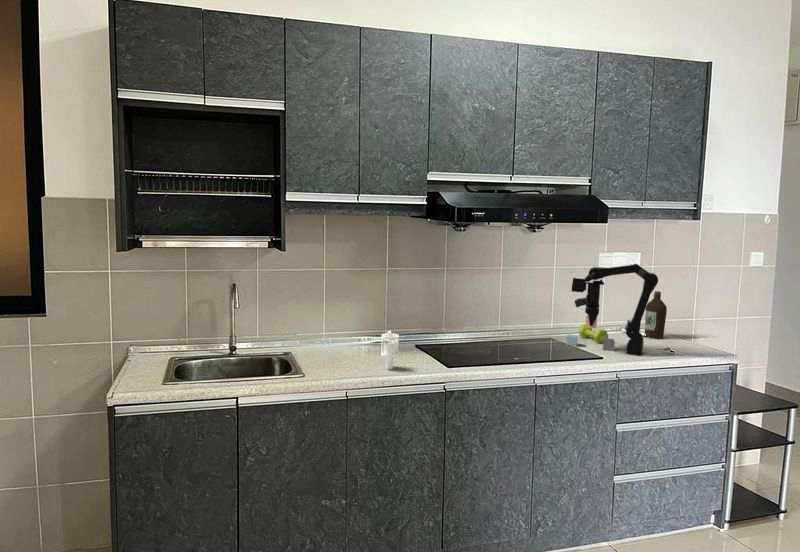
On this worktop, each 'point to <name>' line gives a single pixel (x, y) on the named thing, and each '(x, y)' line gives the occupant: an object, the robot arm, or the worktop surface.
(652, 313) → the olive oil
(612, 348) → the charcoal block
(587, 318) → the terracotta block
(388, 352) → the clear stepped cylinder
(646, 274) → the robot arm
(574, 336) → the slate block
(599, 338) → the dumbbell
